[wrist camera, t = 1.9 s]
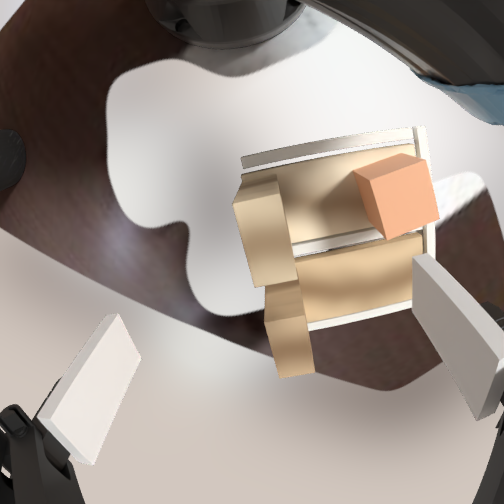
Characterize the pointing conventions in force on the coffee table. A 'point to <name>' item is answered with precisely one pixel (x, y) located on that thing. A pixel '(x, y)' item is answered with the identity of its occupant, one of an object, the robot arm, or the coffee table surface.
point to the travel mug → (11, 158)
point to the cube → (397, 194)
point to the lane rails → (356, 235)
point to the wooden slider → (300, 208)
